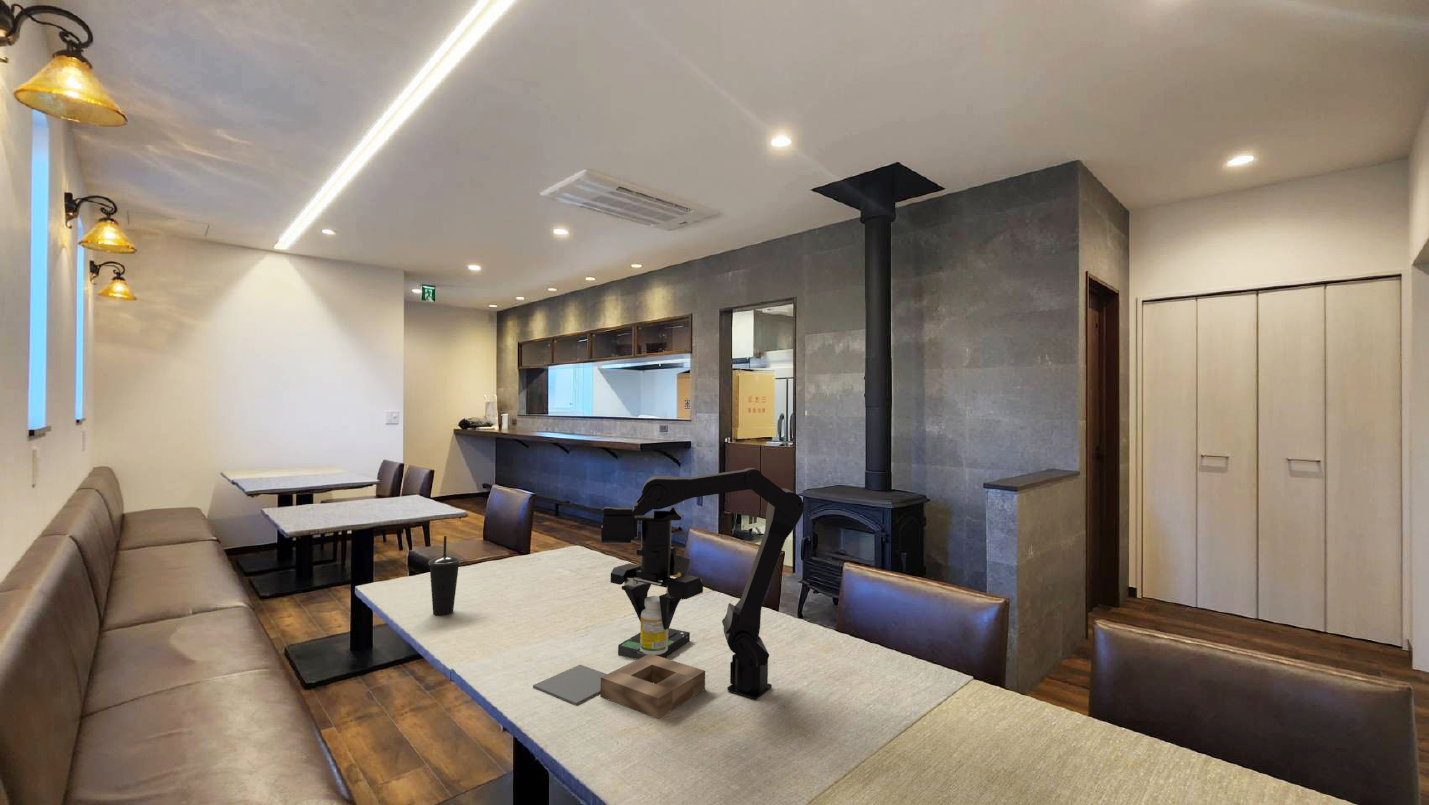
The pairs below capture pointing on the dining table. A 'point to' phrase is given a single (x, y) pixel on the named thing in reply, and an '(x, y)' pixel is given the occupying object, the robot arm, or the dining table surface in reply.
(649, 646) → the supplement bottle
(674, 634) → the disk drive
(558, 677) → the rubber mat
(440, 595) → the drinking cup
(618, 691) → the socket block
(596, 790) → the dining table surface
